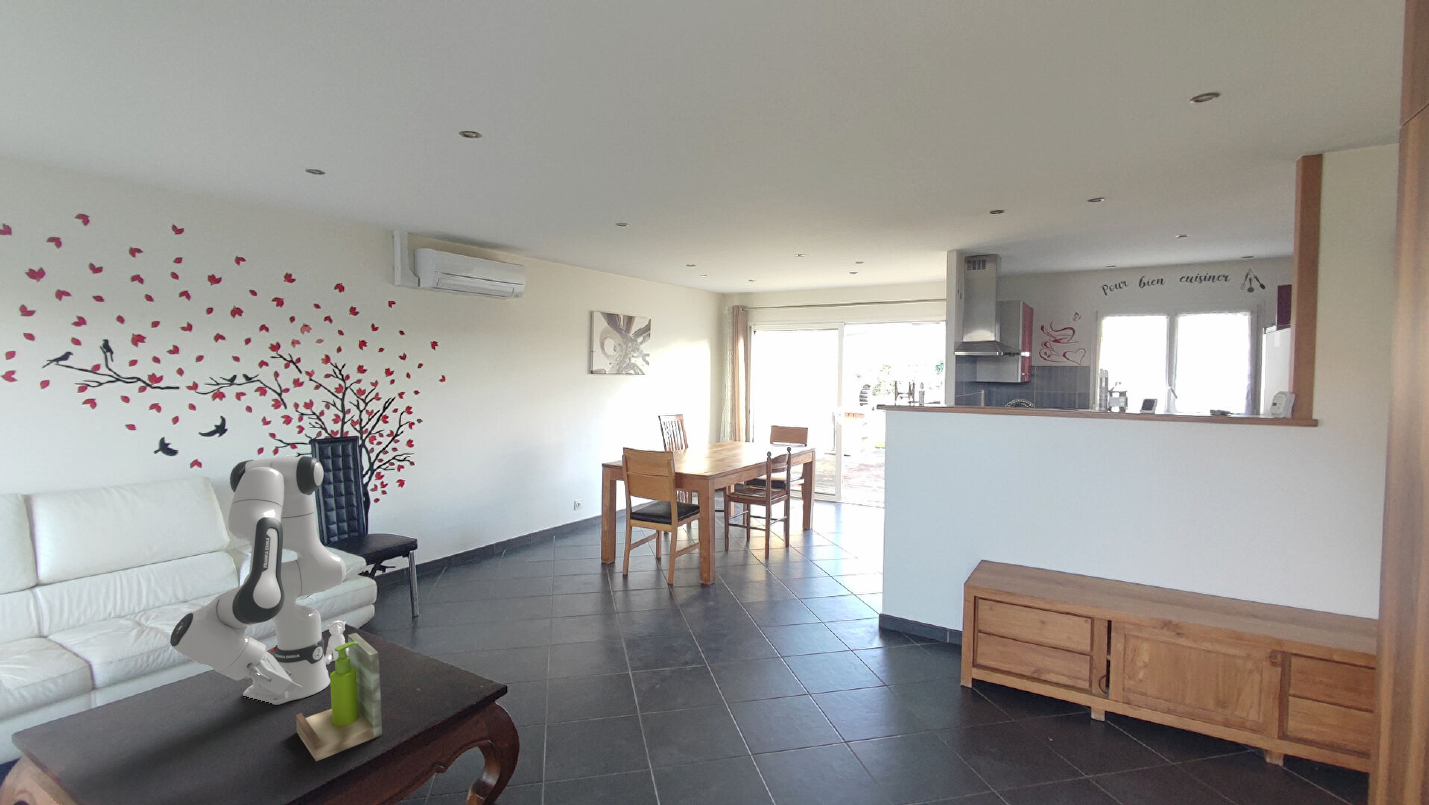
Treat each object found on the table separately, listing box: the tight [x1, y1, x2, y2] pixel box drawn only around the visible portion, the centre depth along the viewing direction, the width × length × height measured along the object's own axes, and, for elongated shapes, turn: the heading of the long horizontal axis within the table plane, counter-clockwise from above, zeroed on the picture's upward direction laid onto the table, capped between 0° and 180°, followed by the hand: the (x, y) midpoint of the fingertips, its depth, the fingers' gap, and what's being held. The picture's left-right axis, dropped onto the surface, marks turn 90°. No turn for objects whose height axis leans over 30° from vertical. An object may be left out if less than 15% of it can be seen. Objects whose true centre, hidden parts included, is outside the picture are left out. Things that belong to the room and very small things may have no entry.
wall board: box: [295, 632, 383, 762], centre depth 163 cm, size 15×18×22 cm
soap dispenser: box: [329, 641, 358, 727], centre depth 164 cm, size 6×7×20 cm
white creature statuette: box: [324, 620, 349, 666], centre depth 207 cm, size 10×9×12 cm
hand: (294, 683), depth 156 cm, fingers open, 8 cm apart
